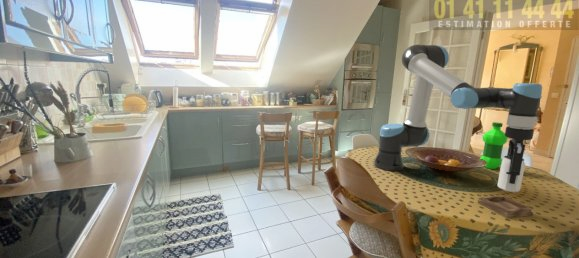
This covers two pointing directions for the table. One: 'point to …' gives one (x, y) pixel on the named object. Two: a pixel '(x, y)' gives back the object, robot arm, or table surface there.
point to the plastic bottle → (493, 146)
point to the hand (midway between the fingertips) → (508, 187)
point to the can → (503, 176)
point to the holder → (505, 206)
